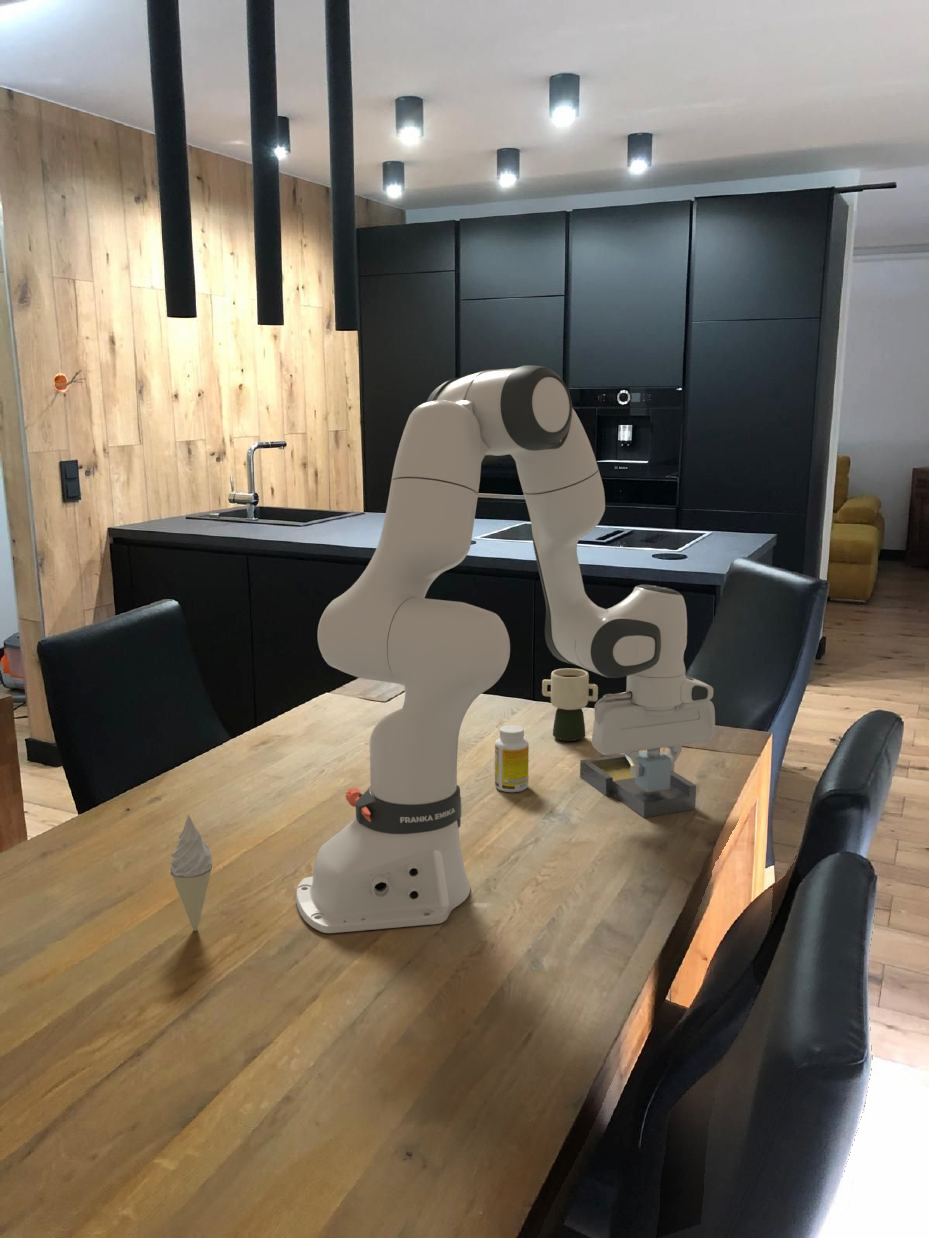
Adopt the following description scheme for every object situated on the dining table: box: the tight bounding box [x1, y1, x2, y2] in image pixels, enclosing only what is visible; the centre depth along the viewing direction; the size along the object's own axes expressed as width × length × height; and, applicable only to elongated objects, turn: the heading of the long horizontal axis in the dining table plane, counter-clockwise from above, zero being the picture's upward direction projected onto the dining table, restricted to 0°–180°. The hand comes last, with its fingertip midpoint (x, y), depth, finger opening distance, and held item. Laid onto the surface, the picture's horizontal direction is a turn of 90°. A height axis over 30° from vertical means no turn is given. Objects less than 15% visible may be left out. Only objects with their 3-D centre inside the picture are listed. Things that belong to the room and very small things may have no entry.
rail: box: [579, 753, 697, 819], centre depth 163 cm, size 10×19×4 cm, turn 20°
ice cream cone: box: [169, 814, 214, 932], centre depth 119 cm, size 5×5×15 cm
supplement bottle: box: [494, 724, 530, 793], centre depth 165 cm, size 6×6×10 cm
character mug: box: [541, 667, 599, 742], centre depth 189 cm, size 11×7×13 cm, turn 68°
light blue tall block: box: [635, 748, 671, 792], centre depth 156 cm, size 4×4×6 cm
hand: (652, 773), depth 157 cm, fingers closed on light blue tall block, 4 cm apart
